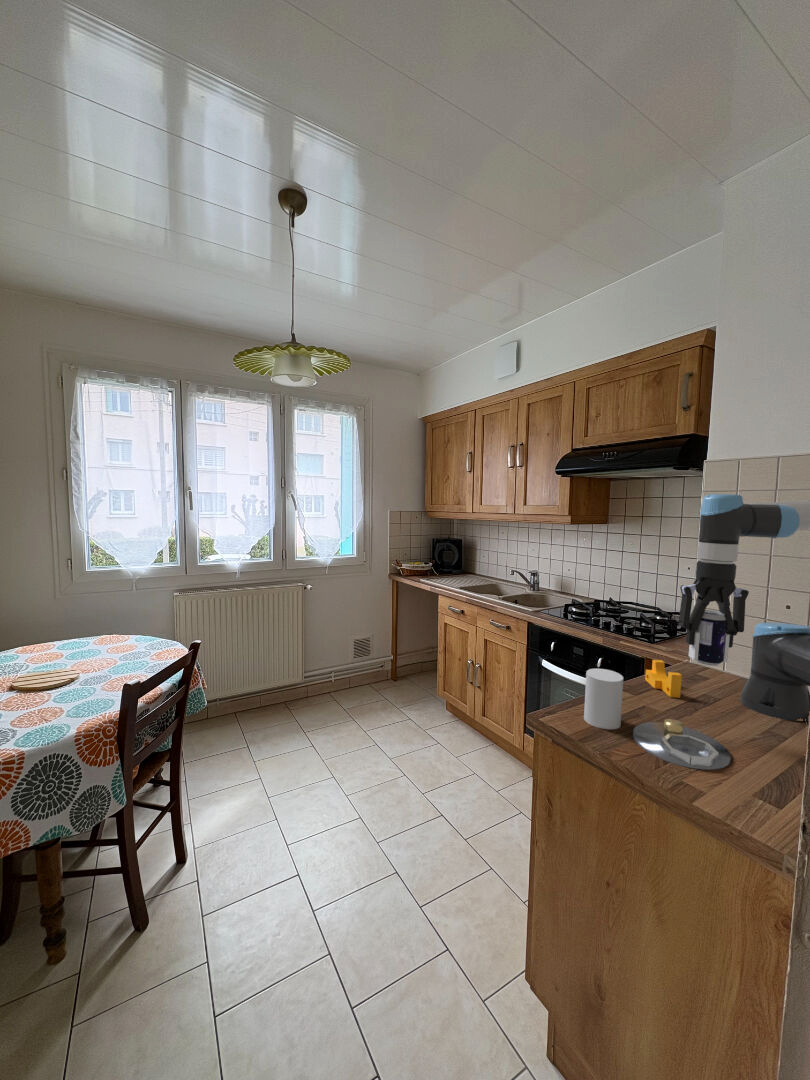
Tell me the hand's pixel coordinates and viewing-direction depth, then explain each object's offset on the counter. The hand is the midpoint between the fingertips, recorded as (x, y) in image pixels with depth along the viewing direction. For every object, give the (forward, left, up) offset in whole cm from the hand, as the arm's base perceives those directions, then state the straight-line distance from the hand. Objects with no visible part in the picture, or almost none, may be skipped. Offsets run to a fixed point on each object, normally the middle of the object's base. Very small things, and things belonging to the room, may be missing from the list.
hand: (707, 659), depth 103 cm
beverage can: (0, 0, -1) cm, 1 cm away
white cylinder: (+23, +1, -17) cm, 29 cm away
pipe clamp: (-1, -24, -18) cm, 30 cm away
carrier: (+10, +10, -17) cm, 22 cm away
